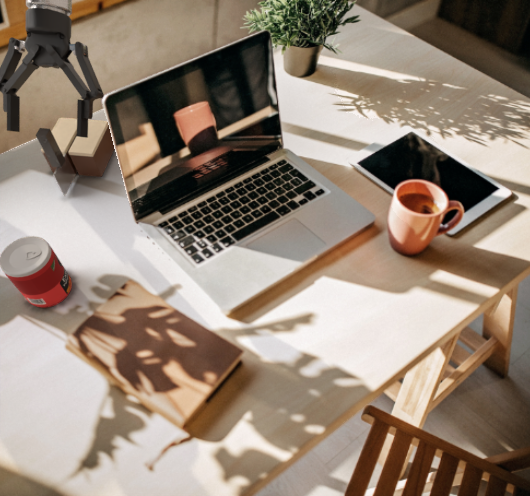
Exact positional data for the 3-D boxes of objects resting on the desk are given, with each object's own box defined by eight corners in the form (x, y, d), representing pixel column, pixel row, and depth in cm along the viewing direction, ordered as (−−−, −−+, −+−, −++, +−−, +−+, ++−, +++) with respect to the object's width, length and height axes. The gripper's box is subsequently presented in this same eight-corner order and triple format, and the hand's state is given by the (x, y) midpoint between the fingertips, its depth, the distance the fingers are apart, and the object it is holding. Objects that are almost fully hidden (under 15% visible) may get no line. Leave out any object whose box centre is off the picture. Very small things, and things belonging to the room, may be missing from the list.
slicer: (70, 174, 103) (44, 120, 92) (79, 175, 103) (54, 121, 91) (59, 196, 100) (30, 142, 88) (69, 196, 99) (41, 143, 88)
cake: (70, 141, 110) (59, 117, 105) (117, 145, 109) (108, 120, 104) (53, 173, 104) (40, 149, 99) (102, 177, 103) (91, 153, 98)
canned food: (80, 294, 87) (56, 258, 78) (35, 317, 84) (6, 283, 75) (64, 264, 91) (40, 227, 82) (21, 286, 88) (-8, 250, 79)
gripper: (-31, 2, 86) (-29, 127, 89) (106, 9, 83) (102, 138, 86) (-3, 15, 93) (-2, 130, 97) (124, 22, 90) (120, 140, 94)
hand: (47, 134), depth 92 cm, fingers open, 13 cm apart
